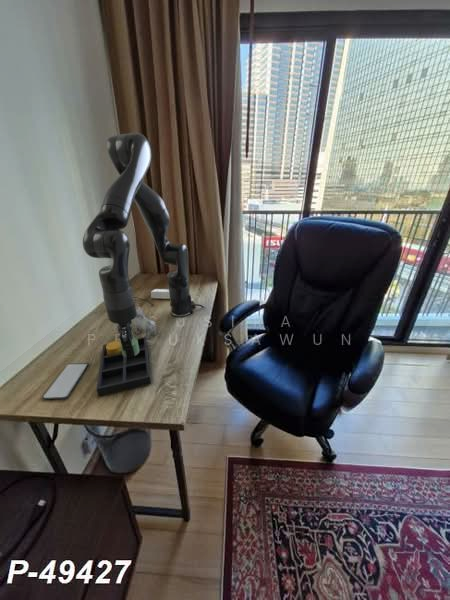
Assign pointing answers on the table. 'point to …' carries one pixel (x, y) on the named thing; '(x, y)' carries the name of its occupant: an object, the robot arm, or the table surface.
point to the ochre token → (113, 348)
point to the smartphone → (65, 381)
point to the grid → (123, 370)
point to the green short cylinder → (135, 347)
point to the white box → (160, 293)
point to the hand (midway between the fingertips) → (130, 351)
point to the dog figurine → (143, 323)
